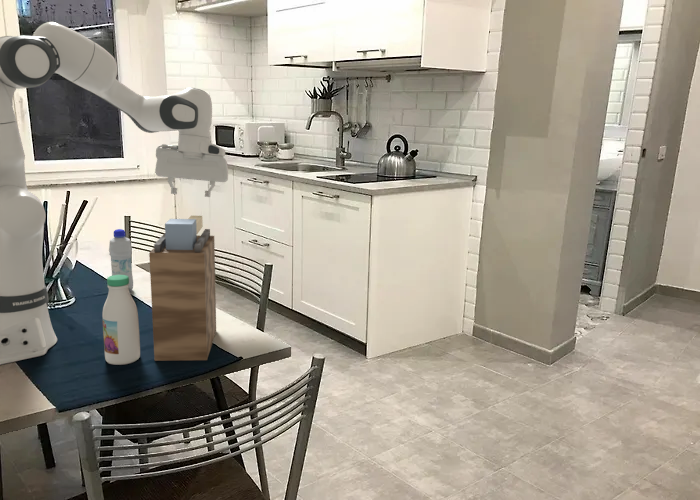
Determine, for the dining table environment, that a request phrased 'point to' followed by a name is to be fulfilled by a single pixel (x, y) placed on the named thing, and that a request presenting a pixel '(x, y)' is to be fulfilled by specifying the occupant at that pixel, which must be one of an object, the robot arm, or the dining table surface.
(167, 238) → the block with handle
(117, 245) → the bottle
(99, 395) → the dining table surface
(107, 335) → the milk bottle
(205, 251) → the walnut stand
